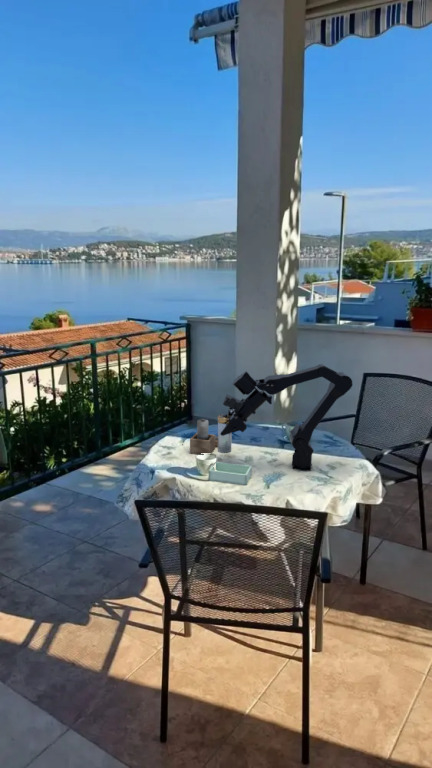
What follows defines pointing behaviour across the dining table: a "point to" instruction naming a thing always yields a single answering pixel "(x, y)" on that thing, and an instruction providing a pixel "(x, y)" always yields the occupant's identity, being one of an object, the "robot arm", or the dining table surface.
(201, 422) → the bin
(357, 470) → the dining table surface
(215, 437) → the wooden switch box
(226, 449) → the cell
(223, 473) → the trough
